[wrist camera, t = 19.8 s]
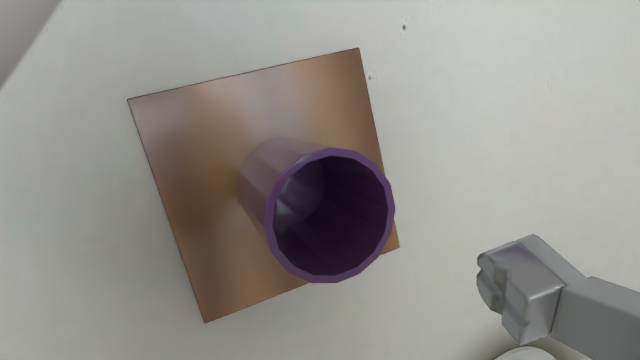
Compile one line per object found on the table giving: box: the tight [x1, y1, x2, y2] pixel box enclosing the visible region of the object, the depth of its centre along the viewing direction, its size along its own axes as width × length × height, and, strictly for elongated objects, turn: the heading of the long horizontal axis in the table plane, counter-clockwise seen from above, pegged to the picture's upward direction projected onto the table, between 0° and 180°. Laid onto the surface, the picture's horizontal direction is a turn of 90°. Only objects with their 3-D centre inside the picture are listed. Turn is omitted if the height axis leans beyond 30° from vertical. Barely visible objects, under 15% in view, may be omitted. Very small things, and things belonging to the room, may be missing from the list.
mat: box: [127, 48, 400, 323], centre depth 28 cm, size 16×16×1 cm
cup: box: [237, 138, 395, 283], centre depth 23 cm, size 7×7×10 cm
